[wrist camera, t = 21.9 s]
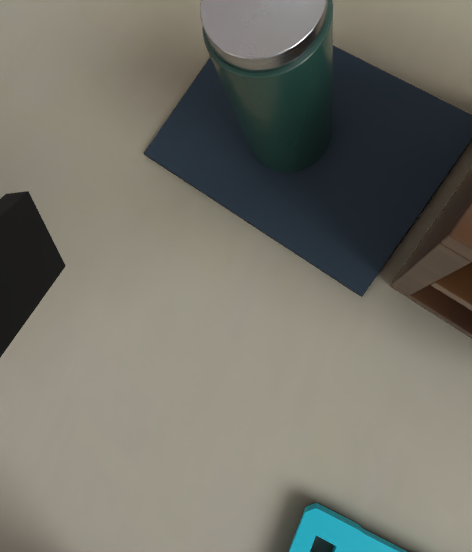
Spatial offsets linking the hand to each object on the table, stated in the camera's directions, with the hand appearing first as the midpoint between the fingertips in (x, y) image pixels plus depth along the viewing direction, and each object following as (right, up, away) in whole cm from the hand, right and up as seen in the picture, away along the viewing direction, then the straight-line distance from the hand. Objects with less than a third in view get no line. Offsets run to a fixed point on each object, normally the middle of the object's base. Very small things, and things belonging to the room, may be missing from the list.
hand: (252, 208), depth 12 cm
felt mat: (+4, +7, +17) cm, 19 cm away
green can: (+3, +8, +17) cm, 19 cm away
